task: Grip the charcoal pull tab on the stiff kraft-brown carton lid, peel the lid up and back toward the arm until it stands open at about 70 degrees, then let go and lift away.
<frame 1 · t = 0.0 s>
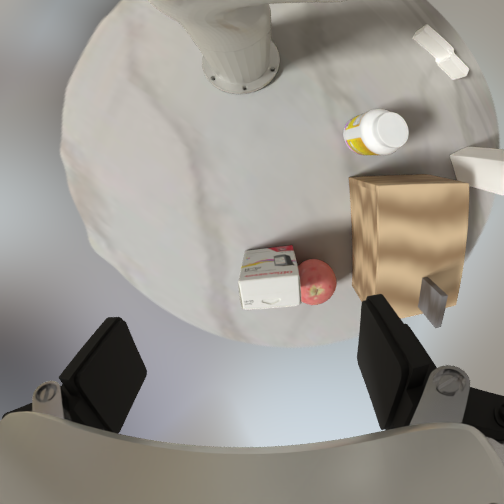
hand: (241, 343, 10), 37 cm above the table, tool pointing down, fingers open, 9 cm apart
brown boxy piece: (392, 230, 45), on the table
carton lid: (436, 261, 30), point 16 cm above the table, hinge at 0.0°
supplement bottle: (360, 135, 40), on the table
white stepped block: (434, 59, 33), on the table
apple: (310, 271, 48), on the table, touching ink box
milk: (462, 164, 39), on the table
ink box: (269, 260, 48), on the table, touching apple
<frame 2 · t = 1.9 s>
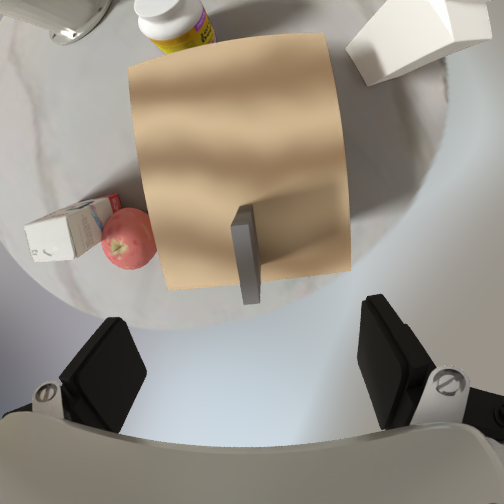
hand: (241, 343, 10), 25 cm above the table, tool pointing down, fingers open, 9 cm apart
carton lid: (235, 160, 17), point 15 cm above the table, hinge at 0.0°
supplement bottle: (191, 43, 26), on the table
apple: (143, 229, 35), on the table, touching ink box
milk: (373, 62, 26), on the table
ink box: (99, 214, 35), on the table, touching apple
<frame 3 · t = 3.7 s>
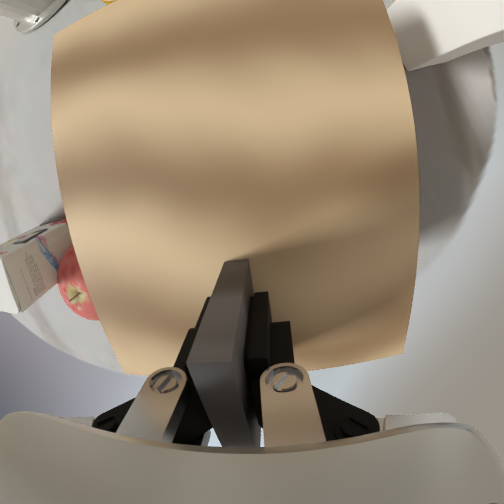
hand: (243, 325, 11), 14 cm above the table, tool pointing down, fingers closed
carton lid: (207, 178, 7), point 15 cm above the table, hinge at 0.0°, touching gripper
apple: (115, 262, 26), on the table, touching ink box
milk: (412, 41, 17), on the table
ink box: (63, 241, 26), on the table, touching apple
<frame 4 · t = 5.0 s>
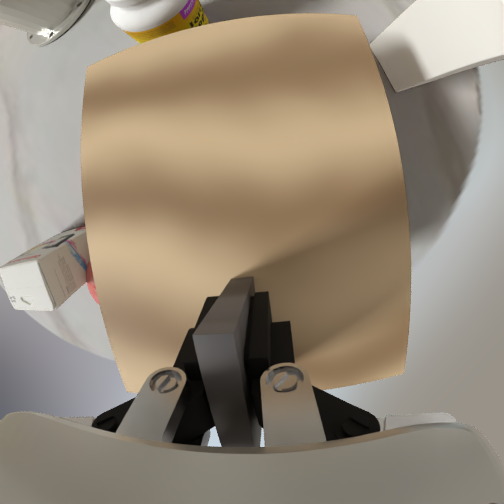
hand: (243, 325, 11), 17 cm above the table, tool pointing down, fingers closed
carton lid: (219, 193, 9), point 18 cm above the table, hinge at 12.2°, touching gripper
supplement bottle: (181, 37, 21), on the table
milk: (401, 63, 20), on the table
ink box: (86, 245, 29), on the table, touching apple
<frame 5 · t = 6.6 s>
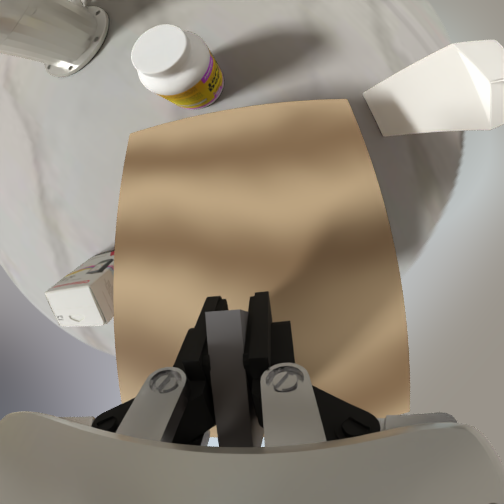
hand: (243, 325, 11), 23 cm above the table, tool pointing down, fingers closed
carton lid: (235, 231, 12), point 21 cm above the table, hinge at 34.6°, touching gripper
supplement bottle: (197, 85, 27), on the table
milk: (390, 108, 27), on the table
ink box: (119, 266, 36), on the table, touching apple
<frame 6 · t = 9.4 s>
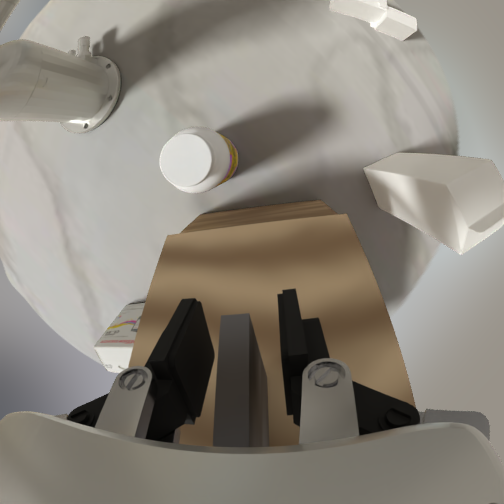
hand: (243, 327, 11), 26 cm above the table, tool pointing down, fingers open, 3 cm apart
brown boxy piece: (268, 276, 38), on the table
carton lid: (250, 296, 14), point 23 cm above the table, hinge at 67.7°
supplement bottle: (213, 159, 34), on the table
white stepped block: (368, 24, 26), on the table
milk: (387, 179, 33), on the table
ink box: (152, 314, 42), on the table, touching apple
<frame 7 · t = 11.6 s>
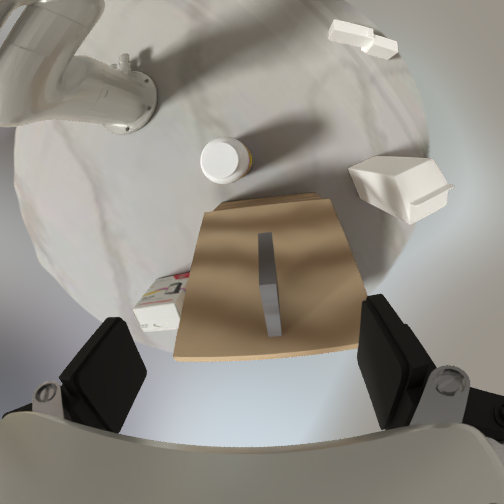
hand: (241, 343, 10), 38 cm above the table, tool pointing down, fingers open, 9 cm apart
brown boxy piece: (274, 252, 49), on the table
carton lid: (267, 238, 25), point 23 cm above the table, hinge at 67.7°
supplement bottle: (233, 160, 44), on the table
white stepped block: (359, 48, 36), on the table
milk: (367, 177, 44), on the table
ink box: (178, 285, 53), on the table, touching apple
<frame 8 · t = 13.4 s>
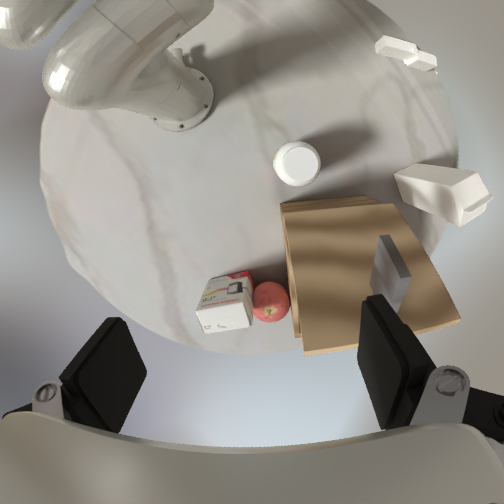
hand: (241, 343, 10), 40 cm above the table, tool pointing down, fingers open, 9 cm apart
brown boxy piece: (327, 251, 51), on the table
carton lid: (367, 239, 26), point 23 cm above the table, hinge at 67.7°
supplement bottle: (291, 162, 46), on the table
white stepped block: (401, 60, 37), on the table
apple: (270, 291, 54), on the table, touching ink box
milk: (409, 182, 45), on the table
ink box: (231, 285, 54), on the table, touching apple
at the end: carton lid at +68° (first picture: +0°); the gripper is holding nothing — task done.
